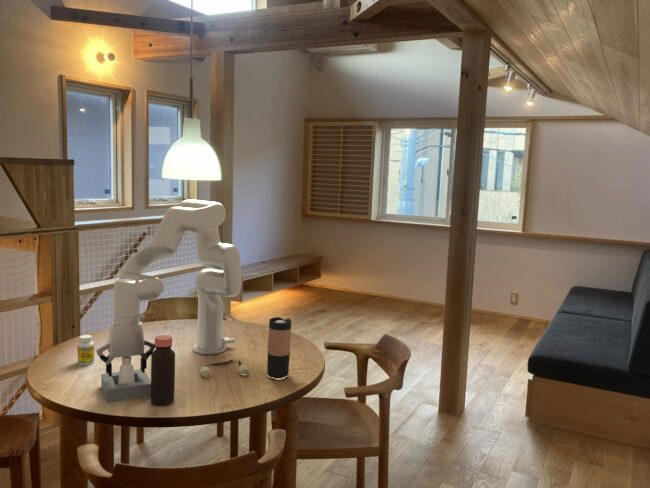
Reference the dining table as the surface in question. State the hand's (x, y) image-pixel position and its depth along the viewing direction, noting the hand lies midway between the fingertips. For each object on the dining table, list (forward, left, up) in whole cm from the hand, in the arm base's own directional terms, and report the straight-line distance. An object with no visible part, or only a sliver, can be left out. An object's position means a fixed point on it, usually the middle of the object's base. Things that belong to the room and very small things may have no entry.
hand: (126, 373), depth 170 cm
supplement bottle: (+9, -29, -6) cm, 31 cm away
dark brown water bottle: (-9, +11, -6) cm, 15 cm away
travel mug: (-49, +5, -6) cm, 50 cm away
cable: (-33, -7, -7) cm, 34 cm away
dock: (0, 0, -6) cm, 6 cm away
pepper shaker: (0, 0, -6) cm, 6 cm away
